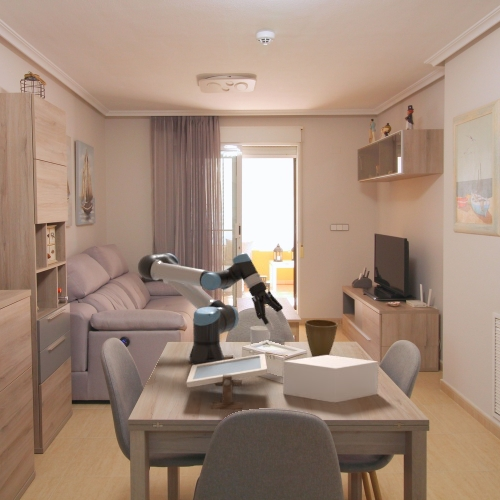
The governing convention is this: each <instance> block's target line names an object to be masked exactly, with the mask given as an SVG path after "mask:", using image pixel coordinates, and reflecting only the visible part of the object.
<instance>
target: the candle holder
mask: <svg viewBox="0 0 500 500" xmlns="http://www.w3.org/2000/svg"><path fill="white" fill-rule="evenodd" d="M249 332H250V333H249V335H250V337H249V338H250V345H251V344H253V343H259V342H261V341H264V340H268V339H271V331H270V332H269V331H268V329H267V327H266V325H254V326H251V327H249Z"/></svg>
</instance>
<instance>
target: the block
mask: <svg viewBox="0 0 500 500" xmlns="http://www.w3.org/2000/svg"><path fill="white" fill-rule="evenodd" d="M282 373H283V377H282V378H283V380H282V381H283V382H282V386H283V387H282V394H283V395H288V396H292V397H299V398H305V399H312V400H318V401H324V402H330V403H340V402H344V401H349V400H355V399H359V398H365V397H370V396H374V395H378V391H379V389H378V388H379V361H376V360H369V359H362V358H354V357H348V356H347V357H345V356H338V355H330V354H329V355H323V356H317V357H312V356H311V357H304V358H303V357H302V358H296V359H289V360H283V372H282Z"/></svg>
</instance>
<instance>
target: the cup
mask: <svg viewBox="0 0 500 500" xmlns="http://www.w3.org/2000/svg"><path fill="white" fill-rule="evenodd" d="M268 340H269V341H272V342H275V343H279V344H281V345H284V346H285V343H286V341H285V340H284V339H280V338H270V339H268Z"/></svg>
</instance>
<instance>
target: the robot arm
mask: <svg viewBox="0 0 500 500" xmlns="http://www.w3.org/2000/svg"><path fill="white" fill-rule="evenodd" d="M232 263H233V264H232V265H231V266H229V267H228V268H226V269H224V270H222V269H221V270H217V271H211V270H206V269H200V268H194V267H189V266H183V265H180V263H179V259H178V257H177V256H175V255H174V254H172V253H169V252H168V253H167V252H161V253H156V254H155V253H154V254H146V255H144V256H142V258H141V259H140V260H139V261H138V264H137V271H138V273H139V274H140V276H141V277H142V278H144V279H146V280H153V281H159V280H160V281H161V282H162V283H163V284H164V285H170V286H171V287H172V288H174V289H175V290H176V292H178V293H179V294H180V295H181V296H182V297H184V298H185V300H186V301H188V302H189V303H190V304H191V305H192V306H194V308H196V310H195V311H194V312H193V318H192V321H193V324H192V325H193V333H192V335H193V343H192V348H191V351H190V353H189V357H188V358H189V360H188V361H189V363H190V364H192V365H197V364H203V363H209V362H216V361H222V360H225V358H224V357H225V356H224V354H223V351H222V348H221V343H220V341H221V340H220V339H221V337H220V336H221V334H224V333H227V332H230V331H232V330H233V329H235V328H236V327H237V325H238V323H239V312H238V310H237V308H235V306H233V305H229V304H225V303H224V302H223V301H221V300H220V299H214V298H213V297H212V296H211V295H210V294H208V292H206V291H205V290H207V291H215V290H217V289H220V290H224V291H225V290H227V289H229V288H231V287H232V286H233V285H235V284H237V283H238V282H240V281H241V280H243V282H244V284H245V286H246V288H247V289H248V291H249V294H250V296H251V300H252V302H253V306H254V310H255V313H256V317H257V319H259V320H262V322H263V324H264V326H266V327H267V329H268V331H269V332H270V333H271V332H272V331H273V330H275V327H274V325H273V323H272V321H271V319H270V318H269V316H268V315H266V306H265V305H268V306H269V307H270V308H271V309H272V310H274V311H275V312H276V313H275V314H276V316H277V318H278V319H279V321H280V323H281V324H282V326H285V325H286V324H289V321H288V320H287V318H286V316H285V314H284V312H283V311H282V310H284V306H283V305H282V304H281V303H280V302H279V301H278V299H276V297H275V296H273V294H272V293H271V291H268V292H267V291H266V290H267V289H268V288H267V286H266V284H265V282H264V281H263V280H262V278H261V275H260V273H259V272H258V271H257V269H256V266H255V265H254V263H253V260H252V259H251V258H250V256H249V255H248V253H246V252H242V253H240V254H238V255H235V257H233V259H232ZM204 289H205V290H204Z"/></svg>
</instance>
